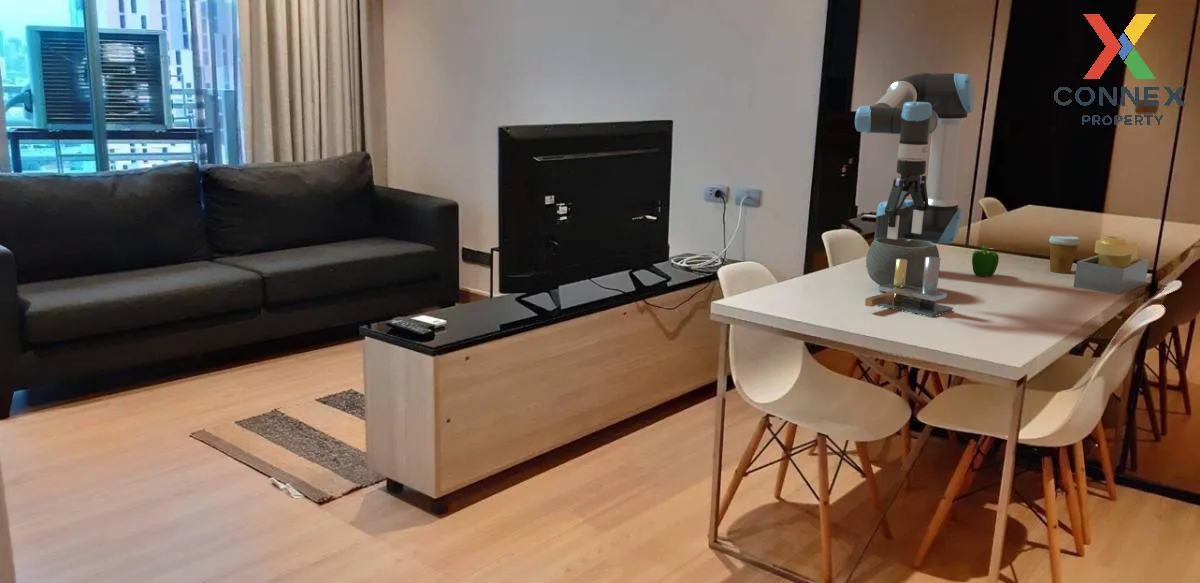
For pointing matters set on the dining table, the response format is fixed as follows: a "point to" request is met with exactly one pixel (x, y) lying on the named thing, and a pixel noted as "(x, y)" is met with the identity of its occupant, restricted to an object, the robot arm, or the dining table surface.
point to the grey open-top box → (1110, 276)
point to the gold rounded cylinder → (900, 278)
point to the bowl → (889, 250)
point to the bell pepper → (984, 262)
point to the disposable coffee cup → (1062, 252)
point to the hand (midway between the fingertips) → (904, 236)
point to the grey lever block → (915, 293)
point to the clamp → (1116, 251)
